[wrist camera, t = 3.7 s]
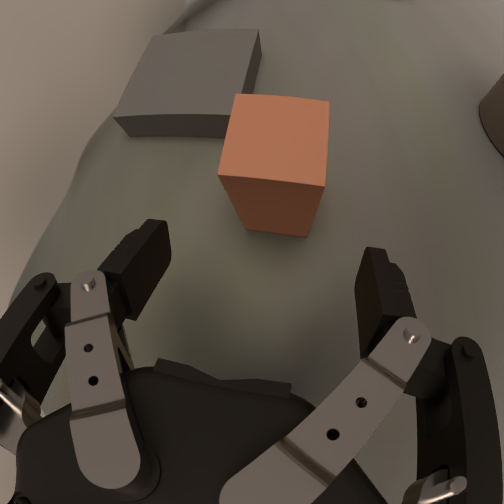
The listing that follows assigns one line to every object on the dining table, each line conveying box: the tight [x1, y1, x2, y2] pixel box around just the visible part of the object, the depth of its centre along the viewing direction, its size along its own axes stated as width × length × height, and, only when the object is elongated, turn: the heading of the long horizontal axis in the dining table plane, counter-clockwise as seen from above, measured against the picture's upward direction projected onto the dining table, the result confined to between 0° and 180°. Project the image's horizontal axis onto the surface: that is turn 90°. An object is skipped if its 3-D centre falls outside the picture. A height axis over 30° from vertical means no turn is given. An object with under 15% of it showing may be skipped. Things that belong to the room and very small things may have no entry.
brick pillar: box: [217, 94, 330, 237], centre depth 17 cm, size 5×5×10 cm
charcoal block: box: [113, 29, 262, 138], centre depth 24 cm, size 11×11×4 cm
